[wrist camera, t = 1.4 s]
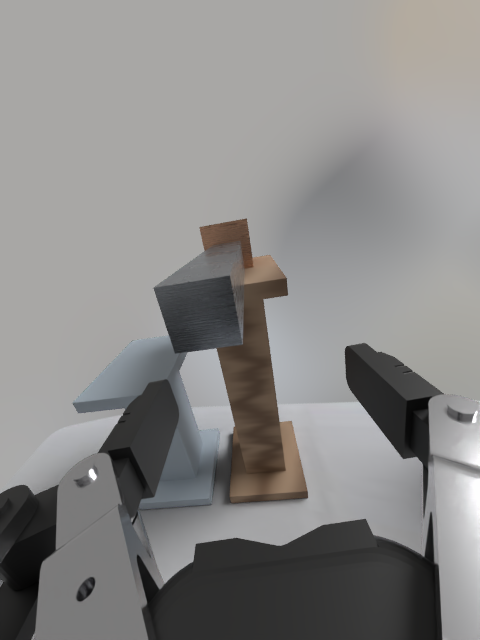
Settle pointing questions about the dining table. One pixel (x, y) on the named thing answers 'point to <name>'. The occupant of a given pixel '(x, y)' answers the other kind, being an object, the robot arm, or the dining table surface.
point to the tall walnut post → (259, 401)
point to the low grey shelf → (188, 442)
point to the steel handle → (209, 291)
